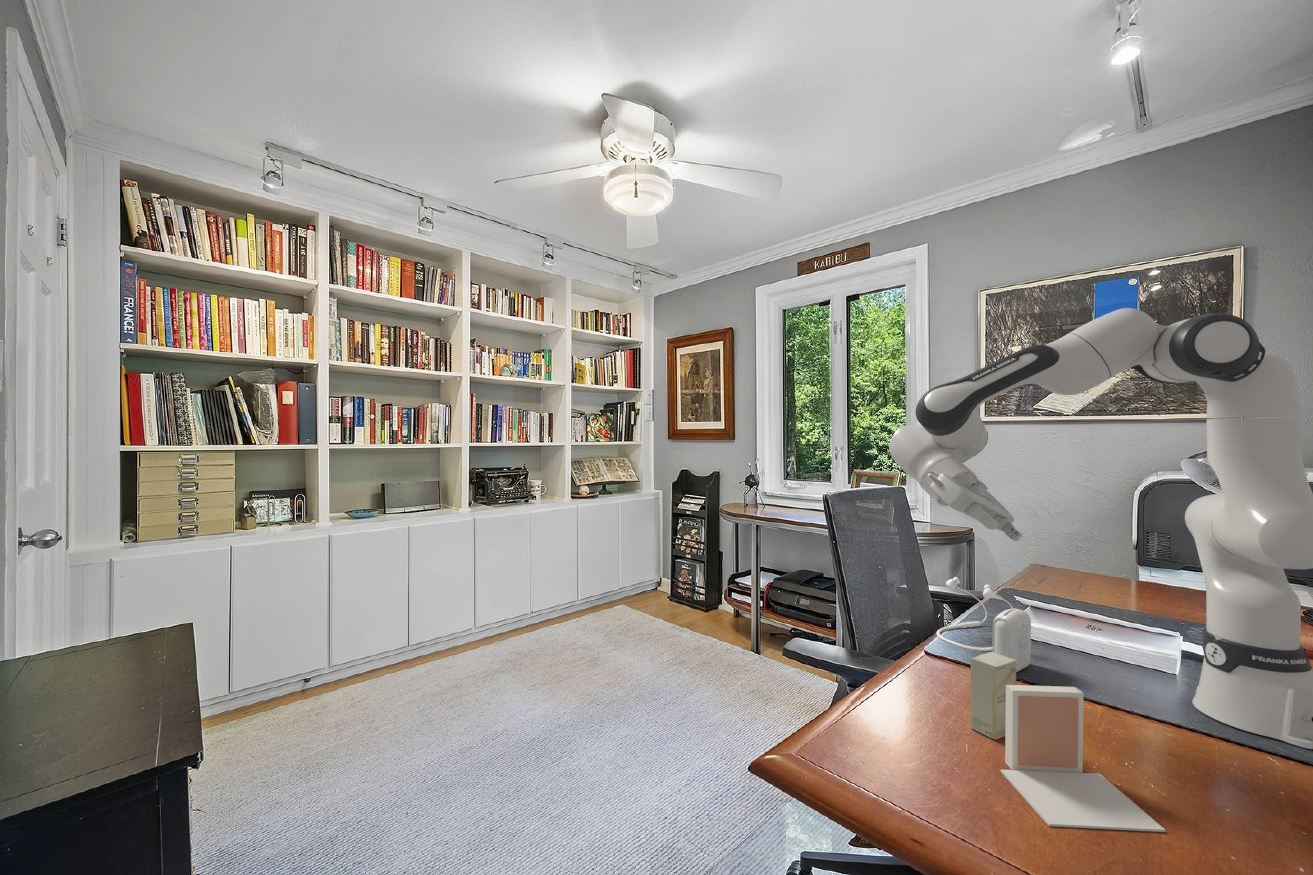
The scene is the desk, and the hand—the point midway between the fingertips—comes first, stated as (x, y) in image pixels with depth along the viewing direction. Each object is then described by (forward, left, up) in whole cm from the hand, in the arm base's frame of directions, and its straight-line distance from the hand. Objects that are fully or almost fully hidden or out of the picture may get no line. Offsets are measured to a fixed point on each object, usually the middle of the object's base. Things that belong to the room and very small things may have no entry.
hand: (1006, 532), depth 96 cm
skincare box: (+5, +6, -33) cm, 34 cm away
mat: (+3, +23, -33) cm, 40 cm away
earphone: (-13, -36, -33) cm, 51 cm away
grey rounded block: (-12, -19, -33) cm, 40 cm away
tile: (+3, +16, -33) cm, 36 cm away
